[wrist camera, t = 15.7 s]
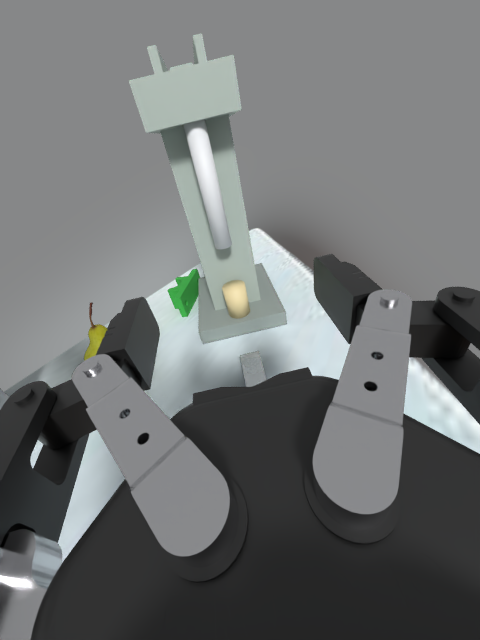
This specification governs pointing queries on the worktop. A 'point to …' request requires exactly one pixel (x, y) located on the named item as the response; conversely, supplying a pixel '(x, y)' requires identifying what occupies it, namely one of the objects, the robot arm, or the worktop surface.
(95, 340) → the fruit
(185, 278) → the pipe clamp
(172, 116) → the post
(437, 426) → the worktop surface
